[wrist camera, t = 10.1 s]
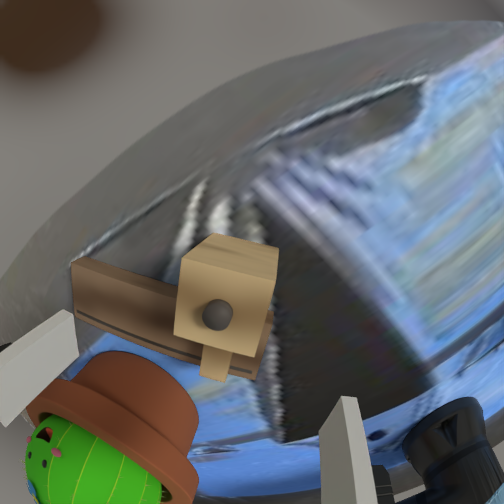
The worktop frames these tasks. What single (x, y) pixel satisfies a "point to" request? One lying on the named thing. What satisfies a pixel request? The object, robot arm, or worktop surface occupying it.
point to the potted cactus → (112, 436)
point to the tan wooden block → (224, 299)
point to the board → (144, 313)
